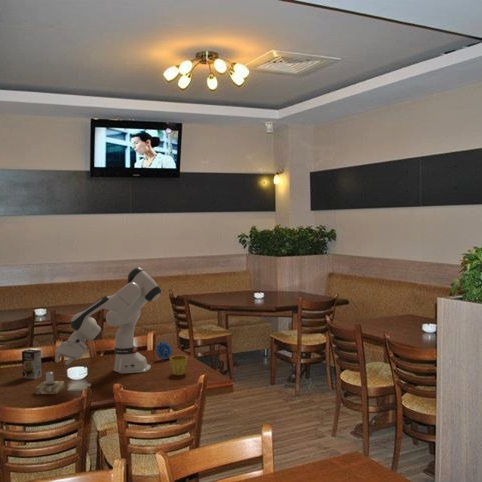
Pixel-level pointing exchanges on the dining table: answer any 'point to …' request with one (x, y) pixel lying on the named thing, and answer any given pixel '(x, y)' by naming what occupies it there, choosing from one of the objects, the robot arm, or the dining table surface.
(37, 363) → the coffee box
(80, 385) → the sage plate
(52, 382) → the metal peg
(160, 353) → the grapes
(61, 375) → the dining table surface
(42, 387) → the pocket block
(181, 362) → the plant pot
